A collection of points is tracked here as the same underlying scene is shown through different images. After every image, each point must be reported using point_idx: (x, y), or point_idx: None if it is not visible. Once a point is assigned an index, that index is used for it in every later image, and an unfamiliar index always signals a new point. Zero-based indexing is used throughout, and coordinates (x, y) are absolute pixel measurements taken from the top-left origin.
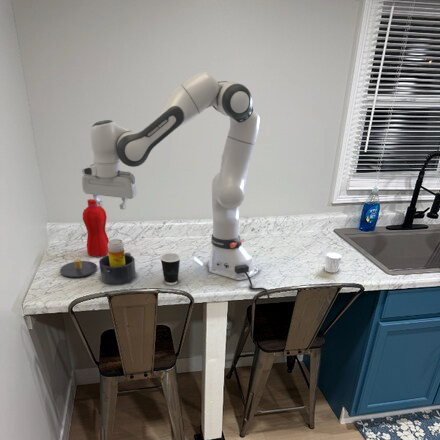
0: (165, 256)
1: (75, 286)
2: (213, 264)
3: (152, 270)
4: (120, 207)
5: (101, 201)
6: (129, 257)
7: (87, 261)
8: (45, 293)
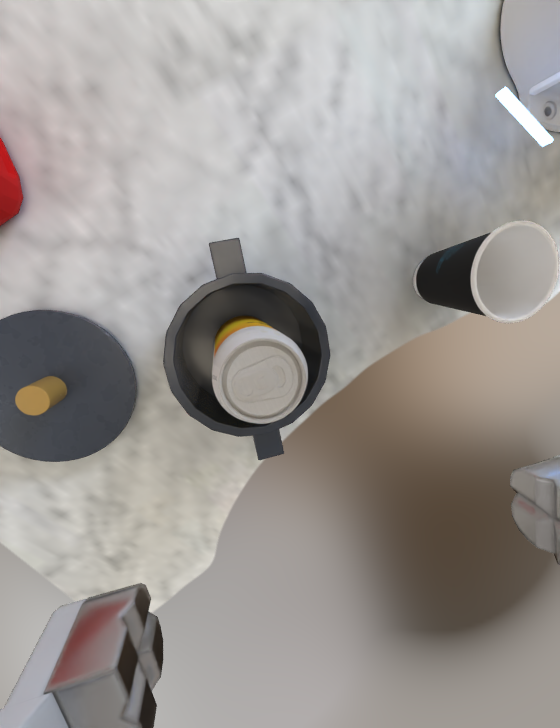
0: (474, 255)
1: (159, 481)
2: (557, 83)
3: (322, 225)
4: (552, 545)
5: (115, 696)
6: (268, 286)
7: (22, 315)
8: (112, 565)
